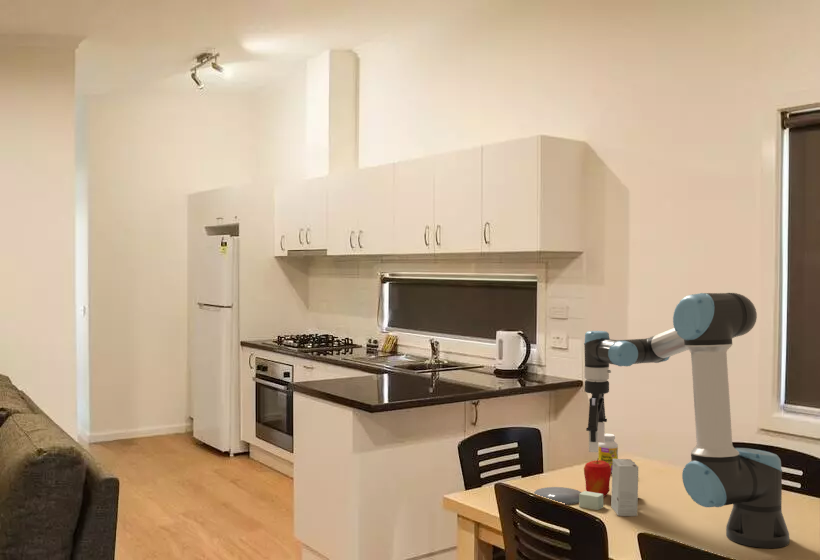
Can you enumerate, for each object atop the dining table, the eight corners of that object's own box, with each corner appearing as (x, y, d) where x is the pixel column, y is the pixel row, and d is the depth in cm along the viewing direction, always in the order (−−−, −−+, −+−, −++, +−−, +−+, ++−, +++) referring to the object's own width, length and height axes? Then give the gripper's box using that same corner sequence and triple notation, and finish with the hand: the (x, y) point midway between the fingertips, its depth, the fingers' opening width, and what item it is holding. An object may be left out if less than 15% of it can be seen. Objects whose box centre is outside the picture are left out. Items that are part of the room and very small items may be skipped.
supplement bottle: (598, 472, 270) (597, 436, 270) (598, 468, 277) (598, 432, 277) (617, 473, 269) (617, 437, 269) (618, 469, 275) (617, 433, 275)
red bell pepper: (594, 489, 250) (594, 453, 250) (617, 495, 243) (616, 457, 243) (578, 494, 244) (578, 457, 244) (601, 500, 238) (600, 462, 238)
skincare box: (610, 507, 230) (610, 458, 230) (631, 507, 230) (630, 458, 230) (618, 516, 222) (617, 465, 222) (639, 516, 222) (638, 465, 222)
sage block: (598, 510, 228) (598, 497, 228) (579, 507, 232) (579, 493, 232) (603, 507, 231) (603, 493, 231) (584, 503, 235) (584, 490, 235)
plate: (578, 506, 232) (578, 502, 232) (529, 501, 237) (529, 497, 237) (586, 493, 245) (586, 489, 245) (540, 488, 251) (540, 485, 251)
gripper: (603, 386, 230) (603, 457, 231) (614, 375, 253) (614, 439, 254) (577, 385, 233) (578, 455, 234) (591, 374, 256) (591, 437, 257)
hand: (596, 447), depth 244 cm, fingers open, 13 cm apart
